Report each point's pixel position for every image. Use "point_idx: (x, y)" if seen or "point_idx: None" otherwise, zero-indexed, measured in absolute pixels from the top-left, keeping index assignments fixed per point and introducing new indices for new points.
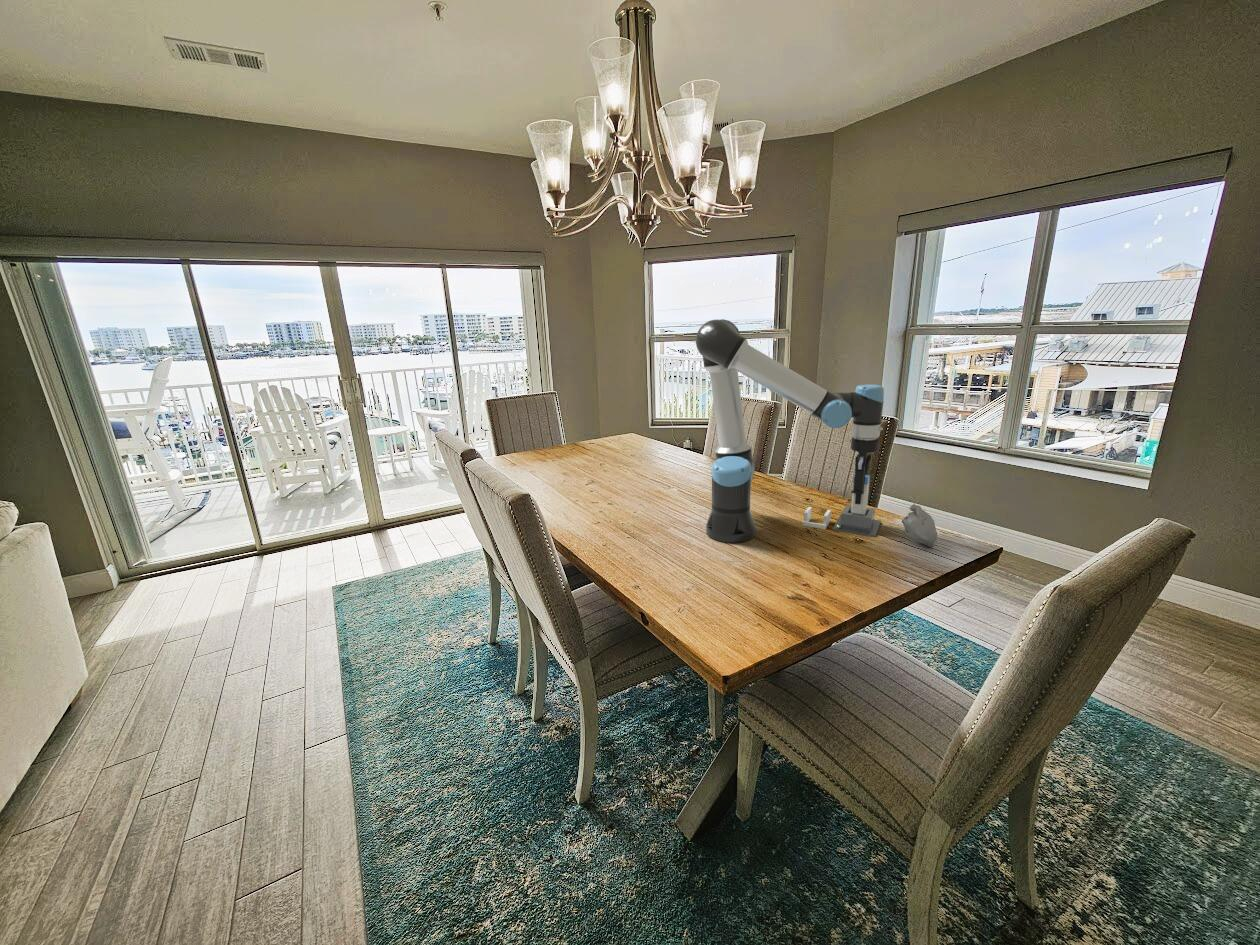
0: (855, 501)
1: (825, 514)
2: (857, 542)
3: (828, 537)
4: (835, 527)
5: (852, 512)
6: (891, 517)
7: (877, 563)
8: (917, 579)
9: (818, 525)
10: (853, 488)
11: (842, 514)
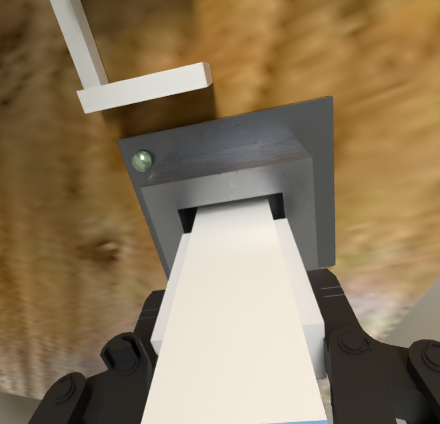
0: (145, 307)
1: (106, 90)
2: (85, 252)
3: (34, 157)
4: (134, 147)
5: (182, 236)
6: (411, 274)
7: (4, 325)
8: (14, 388)
9: (79, 69)
10: (160, 365)
11: (143, 191)
